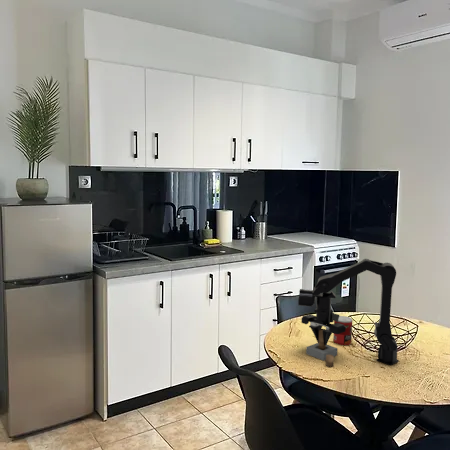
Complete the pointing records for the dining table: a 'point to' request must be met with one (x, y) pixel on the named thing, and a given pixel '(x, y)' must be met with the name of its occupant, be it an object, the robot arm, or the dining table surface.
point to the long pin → (321, 340)
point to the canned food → (345, 336)
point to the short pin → (329, 360)
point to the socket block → (321, 351)
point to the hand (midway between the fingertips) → (322, 343)
